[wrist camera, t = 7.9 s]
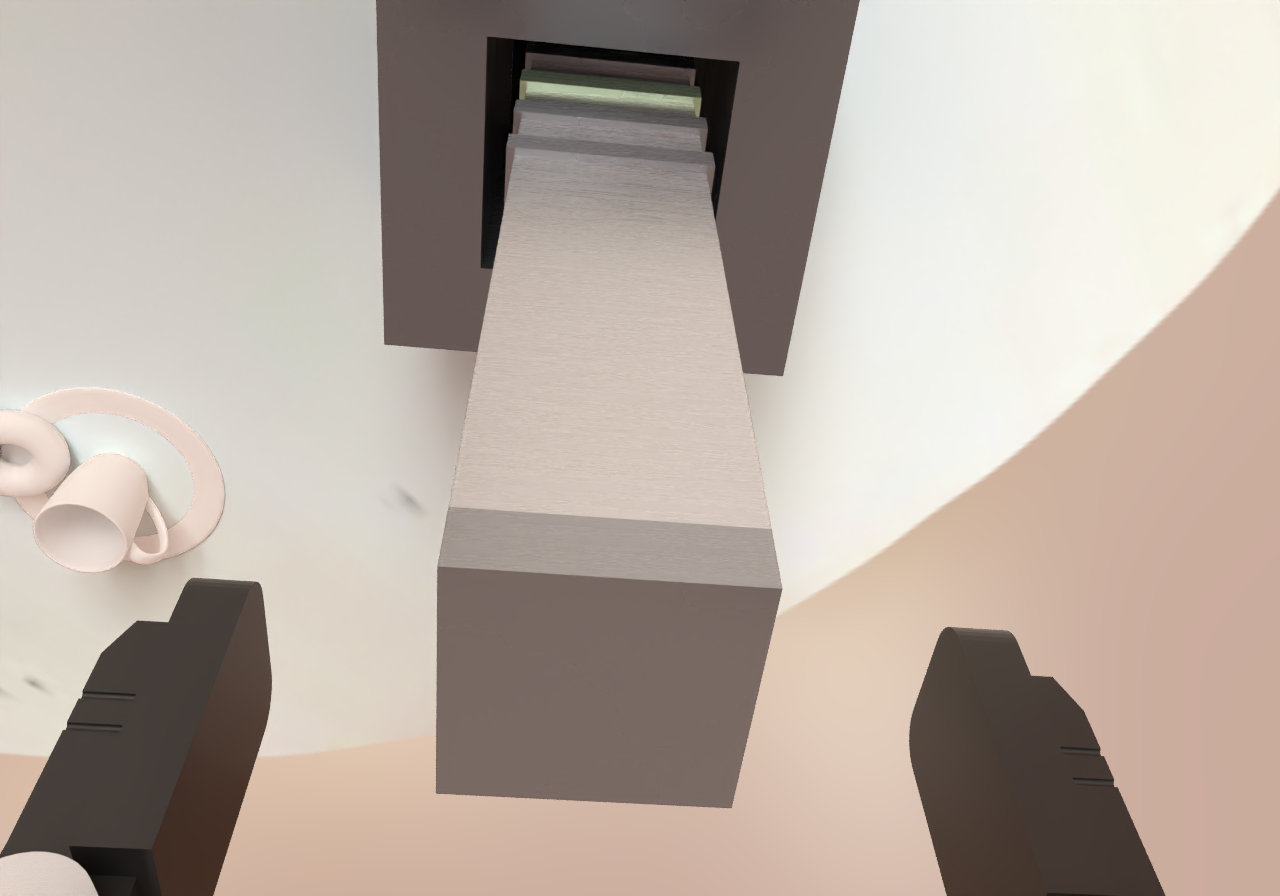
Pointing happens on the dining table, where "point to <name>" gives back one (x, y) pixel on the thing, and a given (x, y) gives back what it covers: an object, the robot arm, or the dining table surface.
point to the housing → (480, 126)
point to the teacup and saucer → (101, 483)
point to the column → (605, 465)
